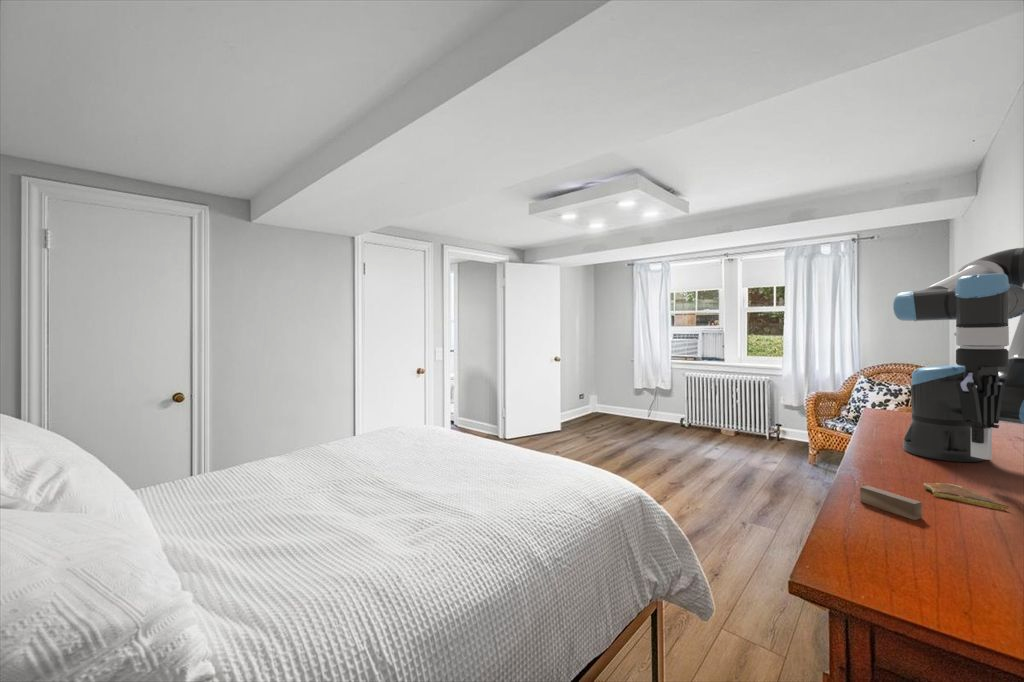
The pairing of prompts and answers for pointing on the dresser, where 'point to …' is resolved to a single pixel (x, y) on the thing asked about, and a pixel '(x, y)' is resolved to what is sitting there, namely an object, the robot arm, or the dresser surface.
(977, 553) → the dresser surface
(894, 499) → the walnut rail
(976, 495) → the shard
